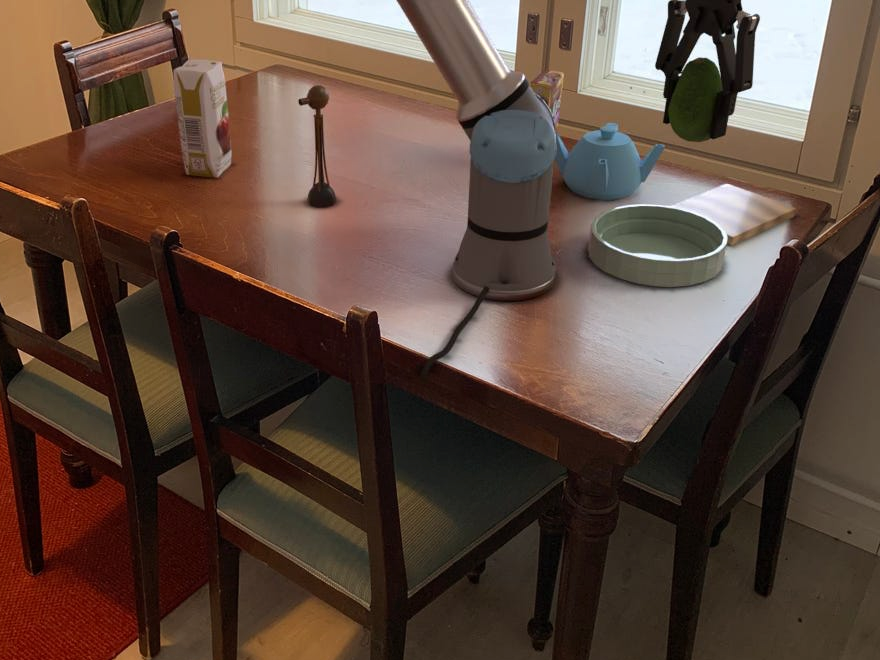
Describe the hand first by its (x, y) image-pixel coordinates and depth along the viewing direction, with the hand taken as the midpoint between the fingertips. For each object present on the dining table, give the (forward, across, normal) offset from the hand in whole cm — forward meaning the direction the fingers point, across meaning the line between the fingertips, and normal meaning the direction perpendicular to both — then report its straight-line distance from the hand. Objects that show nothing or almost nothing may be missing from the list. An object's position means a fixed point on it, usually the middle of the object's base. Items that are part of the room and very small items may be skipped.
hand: (693, 128), depth 147 cm
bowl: (+19, 0, +5) cm, 20 cm away
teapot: (+19, +24, -10) cm, 33 cm away
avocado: (+2, 0, 0) cm, 2 cm away
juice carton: (+18, +74, +41) cm, 87 cm away
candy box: (+19, +42, -11) cm, 47 cm away
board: (+20, +3, -17) cm, 26 cm away
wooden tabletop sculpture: (+19, +49, +34) cm, 63 cm away
